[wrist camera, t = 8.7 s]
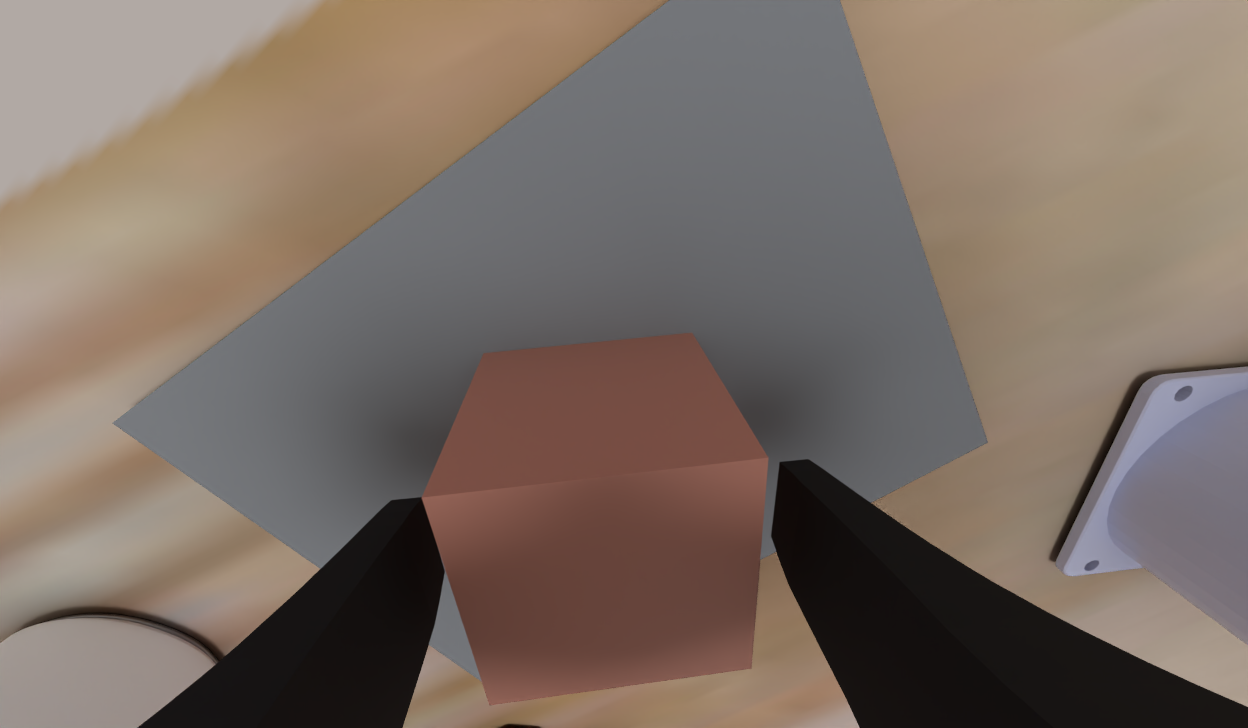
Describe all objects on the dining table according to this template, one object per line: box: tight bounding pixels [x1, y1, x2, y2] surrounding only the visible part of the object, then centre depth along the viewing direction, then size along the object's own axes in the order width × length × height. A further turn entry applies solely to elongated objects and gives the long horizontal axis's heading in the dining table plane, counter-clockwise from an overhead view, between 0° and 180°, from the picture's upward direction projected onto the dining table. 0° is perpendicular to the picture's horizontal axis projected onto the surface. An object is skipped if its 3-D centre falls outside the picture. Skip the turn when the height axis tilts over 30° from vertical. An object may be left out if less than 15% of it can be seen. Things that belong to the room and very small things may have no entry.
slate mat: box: [113, 0, 988, 682], centre depth 13 cm, size 18×14×1 cm
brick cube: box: [422, 333, 768, 705], centre depth 10 cm, size 5×5×5 cm
